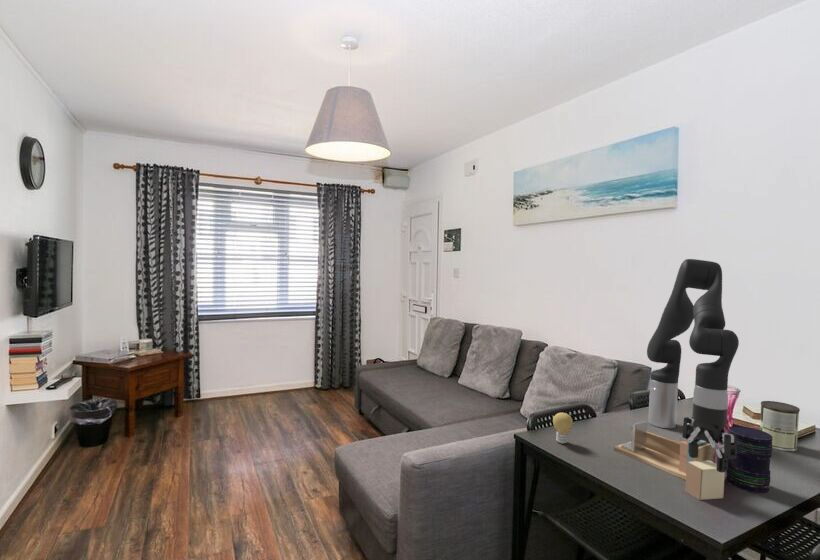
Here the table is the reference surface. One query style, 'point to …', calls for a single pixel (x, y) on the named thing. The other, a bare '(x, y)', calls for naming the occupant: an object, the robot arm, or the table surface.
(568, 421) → the light bulb
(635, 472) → the table surface
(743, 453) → the storage jar
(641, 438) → the bookend
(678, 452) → the rack
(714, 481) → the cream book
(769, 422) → the coffee can
